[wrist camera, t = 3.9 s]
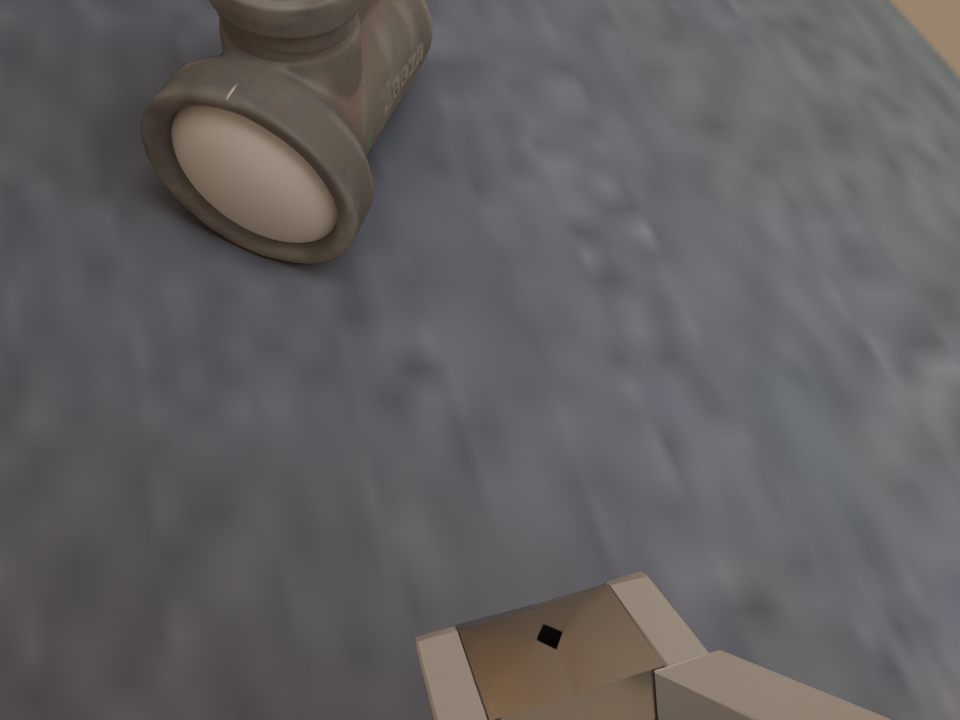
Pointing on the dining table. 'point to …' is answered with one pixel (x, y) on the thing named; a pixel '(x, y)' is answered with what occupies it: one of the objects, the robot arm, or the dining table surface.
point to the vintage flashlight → (286, 120)
